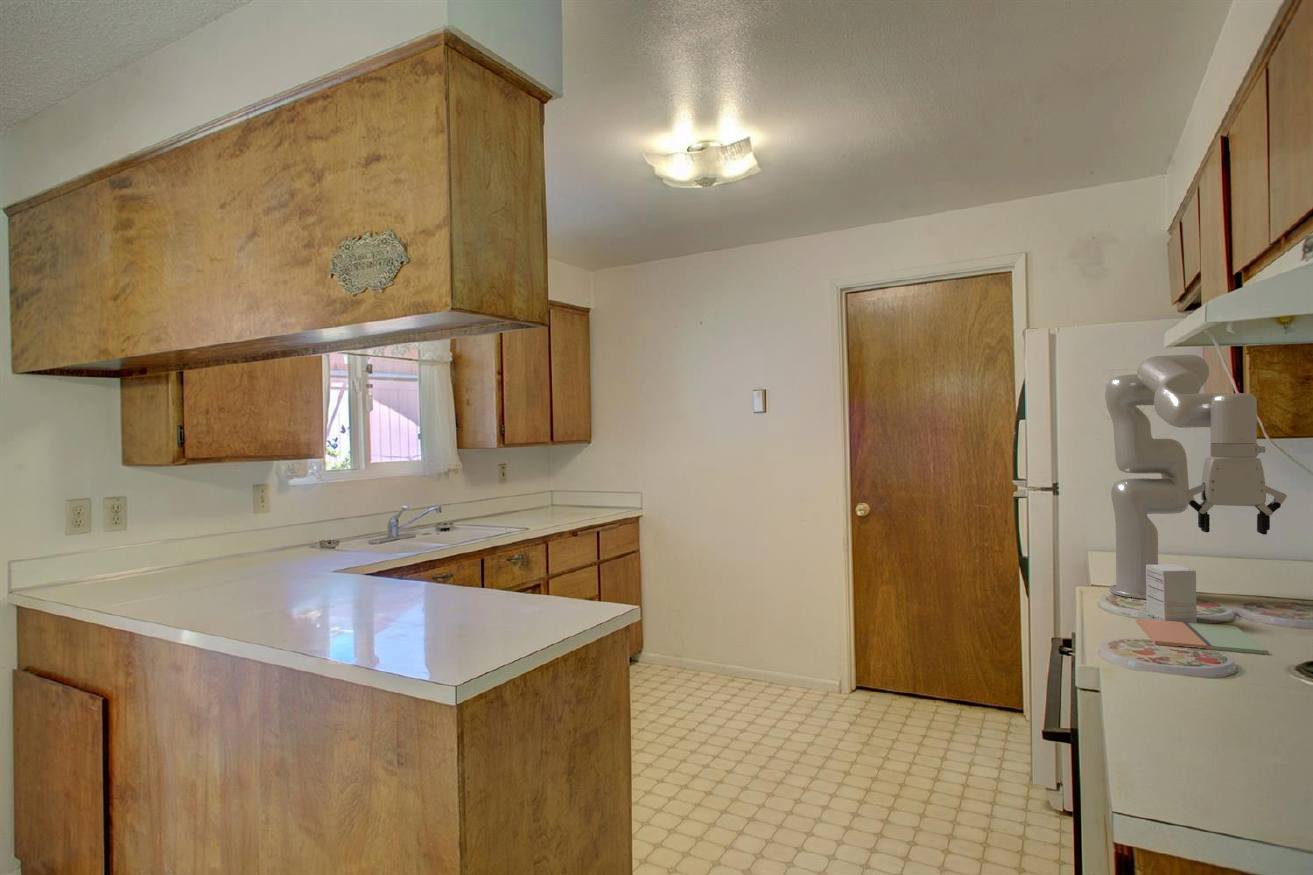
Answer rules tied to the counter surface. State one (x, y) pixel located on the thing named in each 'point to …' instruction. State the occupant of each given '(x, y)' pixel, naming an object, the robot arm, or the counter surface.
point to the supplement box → (1171, 592)
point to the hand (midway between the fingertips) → (1233, 532)
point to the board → (1199, 636)
